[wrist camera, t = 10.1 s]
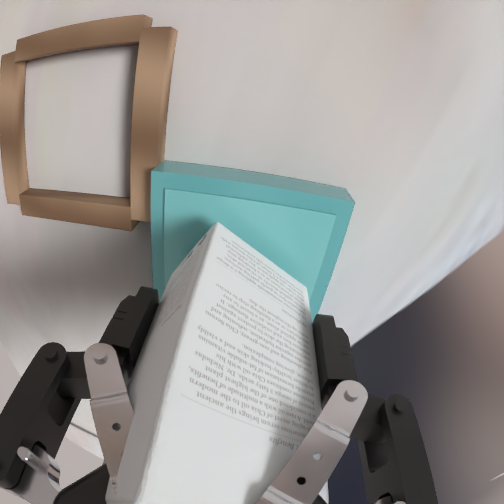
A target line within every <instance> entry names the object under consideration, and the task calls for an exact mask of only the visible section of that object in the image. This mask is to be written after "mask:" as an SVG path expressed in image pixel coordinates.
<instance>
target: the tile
mask: <svg viewBox="0 0 504 504" xmlns="http://www.w3.org/2000/svg"><path fill="white" fill-rule="evenodd" d="M354 204H355V202H354V200H353V199H352V197H351V196H350V194H349V193H348V191H347V190H346V189H345V188H340V187H335V186H330V185H325V184H320V183H315V182H310V181H305V180H299V179H294V178H288V177H283V176H277V175H271V174H265V173H259V172H252V171H245V170H239V169H232V168H224V167H217V166H209V165H201V164H192V163H184V162H174V161H163V162H161V163H160V164H159V165H158V166H157V167H155V168H154V169H153V170H152V171H151V255H152V277H153V289H157V290H158V295H159V303H160V300H161V298H162V296H163V293H164V291H165V289H166V286H167V284H168V281H169V279H170V277H171V275H172V273H173V272H174V271H175V270H176V269H177V267H178V266H179V265H180V264H181V263H182V261H183V260H184V259H185V258H186V256H187V255H188V254H189V253H190V252H191V250H192V249H193V248H194V247H195V245H196V244H197V243H198V242H199V241H200V240H201V239H202V237H203V236H204V235H205V234H206V233H207V232H208V231H209V229H210V228H211V227H212V226H213V225H214V224H215V223H216V222H219V223H221V224H222V225H223V226H224V227H226V228H227V229H228V230H230V231H231V232H232V233H234V234H235V235H236V236H238V237H239V238H241V239H242V240H243V241H245V242H246V243H247V244H248V245H250V246H251V247H253V248H254V249H255V250H257V251H258V252H259V253H261V254H262V255H263V256H265V257H266V258H267V259H269V260H270V261H271V262H273V263H274V264H275V265H277V266H278V267H279V268H281V269H282V270H284V271H285V272H286V273H288V274H289V275H290V276H292V277H293V278H294V279H296V280H297V281H298V282H300V283H301V284H302V285H304V286H305V287H306V288H307V291H308V298H309V305H310V312H311V320H312V323H313V320H314V318H315V316H316V314H318V311H319V309H320V306H321V303H322V301H323V298H324V295H325V292H326V290H327V287H328V284H329V281H330V278H331V276H332V273H333V270H334V267H335V264H336V261H337V258H338V255H339V252H340V249H341V246H342V243H343V240H344V237H345V234H346V231H347V227H348V224H349V221H350V218H351V214H352V211H353V208H354Z"/></svg>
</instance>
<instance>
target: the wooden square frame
mask: <svg viewBox="0 0 504 504" xmlns="http://www.w3.org/2000/svg"><path fill="white" fill-rule="evenodd" d="M151 25H152V18H150V17H148V16H146V15H133V16H124V17H115V18H108V19H101V20H95V21H89V22H84V23H79V24H74V25H69V26H65V27H61V28H57V29H53V30H49V31H45V32H41V33H38V34H34V35H31V36H28V37H25V38H22V39H19V40H17V45H16V51H14V52H11V53H8V54H5V55H2V58H1V69H0V147H1V159H2V168H3V176H4V184H5V191H6V197H7V203H8V204H16V205H21V210H22V215H26V216H33V217H40V218H47V219H53V220H60V221H67V222H73V223H80V224H87V225H94V226H100V227H107V228H113V229H120V230H127V231H132V230H133V229H134V228H135V227H136V225H137V224H138V223H139V221H145V222H151V171H152V170H153V169H154V168H155V167H157V166H158V165H159V164H160V163H161V162H163V161H164V152H165V136H166V123H167V112H168V101H169V92H170V83H171V74H172V66H173V59H174V52H175V45H176V38H177V32H178V30H176V29H174V28H172V27H151ZM135 44H139V50H138V57H137V66H136V75H135V85H134V96H133V110H132V127H131V157H130V196H131V198H123V197H114V196H105V195H96V194H86V193H76V192H66V191H55V190H44V189H32V188H29V182H28V174H27V163H26V150H25V129H24V95H25V74H26V62H27V61H29V60H33V59H37V58H41V57H46V56H51V55H56V54H61V53H66V52H72V51H78V50H85V49H92V48H101V47H110V46H121V45H135Z"/></svg>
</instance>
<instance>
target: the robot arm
mask: <svg viewBox="0 0 504 504" xmlns="http://www.w3.org/2000/svg"><path fill="white" fill-rule="evenodd" d="M158 305H159V295H158V290H157V289H153V288H148V287H143V286H142V287H141V288H140V289H139V291H138V293H137V295H136V297H135V296H130V295H129V296H128V297H126V298H125V299H124V300H123V301H121V303H120V304H119V306H118V308H117V310H116V312H115V313H114V315H113V318H112V319H111V321H110V323H109V325H108V326H107V328H106V330H105V332H104V334H103V336H102V338H101V340H100V342H99V343H97V344H94V345H92V346H90V347H89V348H88V349H87V350H86V351H84V352H66V350H65V348H64V347H63V346H62V345H61V344H59V343H55V342H52V343H47V344H45V345H43V346H42V347H41V348H40V349H39V351H38V352H37V354H36V355H35V357H34V358H33V360H32V361H31V363H30V365H29V366H28V368H27V369H26V371H25V373H24V374H23V376H22V377H21V379H20V381H19V382H18V384H17V386H16V388H15V389H14V391H13V393H12V394H11V396H10V398H9V400H8V402H7V403H6V405H5V407H4V409H3V411H2V413H1V414H0V487H1V488H3V489H4V490H6V491H8V492H10V493H12V494H13V495H15V496H19V497H21V498H23V499H25V500H27V501H28V502H30V503H31V504H107V503H106V500H105V497H106V492H107V487H108V483H109V478H110V477H111V480H112V486H113V490H114V493H115V495H116V492H117V482H116V478H117V474H118V470H119V466H120V463H121V459H122V453H123V452H124V448H125V445H126V441H127V438H128V434H129V430H130V427H131V423H132V420H133V417H134V412H133V409H132V406H131V402H130V399H129V396H128V392H127V387H128V384H129V381H130V378H131V375H132V372H133V370H134V367H135V364H136V362H137V359H138V356H139V354H140V351H141V348H142V346H143V343H144V341H145V338H146V335H147V333H148V330H149V328H150V325H151V323H152V320H153V318H154V315H155V313H156V310H157V308H158ZM312 327H313V335H314V344H315V351H316V359H317V369H318V378H319V387H320V397H321V407H322V411H321V413H320V415H319V416H318V418H317V419H316V421H315V422H314V424H313V425H312V427H311V428H310V430H309V431H308V433H307V434H306V436H305V437H304V439H303V440H302V442H301V443H300V445H299V446H298V448H297V449H296V451H295V452H294V454H293V455H292V456H291V458H290V459H289V460H288V462H287V463H286V464H285V466H284V467H283V468H282V470H281V471H280V473H279V474H278V475H277V476H276V478H275V479H274V480H273V482H272V483H271V484H270V486H269V487H268V488H267V489H266V491H265V492H264V493H263V494H262V496H261V497H260V498H259V499H258V500H257V502H256V503H255V504H327V503H326V502H325V500H324V499H323V498H322V497H321V496H320V495H319V492H320V491H321V489H322V488H323V486H324V485H325V483H326V481H327V480H328V478H329V476H330V475H331V473H332V471H333V470H334V468H335V466H336V465H337V463H338V461H339V460H340V458H341V456H342V454H343V452H344V451H345V449H346V447H347V445H348V443H349V441H350V438H349V437H351V438H354V439H357V440H358V443H359V449H360V455H361V461H362V467H363V473H364V480H365V487H366V493H367V501H368V504H438V501H437V496H436V492H435V487H434V482H433V478H432V474H431V470H430V466H429V462H428V458H427V454H426V450H425V447H424V443H423V440H422V436H421V433H420V429H419V426H418V422H417V419H416V416H415V413H414V409H413V406H412V404H411V402H410V401H409V400H408V399H407V398H406V397H404V396H402V395H398V394H394V395H392V396H389V397H388V398H387V399H386V400H385V399H382V398H378V397H375V396H372V395H370V394H368V393H367V391H366V389H365V388H364V387H363V386H362V385H361V384H360V383H358V380H357V375H356V370H355V366H354V361H353V356H352V352H351V348H350V343H349V338H348V336H347V334H346V333H345V332H344V330H343V329H342V328H336V326H335V321H334V317H333V316H330V315H321V314H316V316H315V318H314V320H313V323H312ZM81 399H91V400H90V406H91V411H92V415H93V419H94V423H95V427H96V431H97V435H98V439H99V442H100V446H101V449H102V452H103V456H104V459H105V462H106V463H105V464H103V465H102V466H100V467H99V468H97V469H96V470H94V471H92V472H91V473H89V474H87V475H86V476H84V477H82V478H81V479H79V480H77V481H76V482H74V483H72V484H71V485H69V486H67V487H66V488H64V489H62V490H61V488H60V485H59V477H60V468H59V465H58V463H57V462H56V461H55V460H54V459H55V457H56V454H57V452H58V450H59V447H60V445H61V442H62V440H63V438H64V436H65V433H66V431H67V429H68V426H69V424H70V422H71V420H72V418H73V415H74V413H75V411H76V409H77V407H78V405H79V403H80V401H81Z"/></svg>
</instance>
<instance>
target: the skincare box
mask: <svg viewBox="0 0 504 504" xmlns="http://www.w3.org/2000/svg"><path fill="white" fill-rule="evenodd" d="M127 392H128V396H129V399H130V402H131V406H132V409H133V412H134V417H133V420H132V423H131V427H130V430H129V434H128V438H127V441H126V445H125V448H124V452H123V453H122V459H121V463H120V466H119V470H118V474H117V478H116V482H117V492H116V495H115V493H114V490H113V486H112V480H111V477H110V478H109V483H108V487H107V492H106V497H105V500H106V503H107V504H255V503H256V502H257V500H258V499H259V498H260V497H261V496H262V494H263V493H264V492H265V491H266V489H267V488H268V487H269V486H270V484H271V483H272V482H273V480H274V479H275V478H276V476H277V475H278V474H279V473H280V471H281V470H282V468H283V467H284V466H285V464H286V463H287V462H288V460H289V459H290V458H291V456H292V455H293V454H294V452H295V451H296V449H297V448H298V446H299V445H300V443H301V442H302V440H303V439H304V437H305V436H306V434H307V433H308V431H309V430H310V428H311V427H312V425H313V424H314V422H315V421H316V419H317V418H318V416H319V415H320V413H321V411H322V407H321V397H320V387H319V378H318V369H317V359H316V351H315V344H314V335H313V327H312V320H311V312H310V305H309V298H308V291H307V288H306V287H305V286H304V285H302V284H301V283H300V282H298V281H297V280H296V279H294V278H293V277H292V276H290V275H289V274H288V273H286V272H285V271H284V270H282V269H281V268H279V267H278V266H277V265H275V264H274V263H273V262H271V261H270V260H269V259H267V258H266V257H265V256H263V255H262V254H261V253H259V252H258V251H257V250H255V249H254V248H253V247H251V246H250V245H248V244H247V243H246V242H245V241H243V240H242V239H241V238H239V237H238V236H236V235H235V234H234V233H232V232H231V231H230V230H228V229H227V228H226V227H224V226H223V225H222V224H221V223H219V222H216V223H215V224H214V225H213V226H212V227H211V228H210V229H209V231H208V232H207V233H206V234H205V235H204V236H203V237H202V239H201V240H200V241H199V242H198V243H197V244H196V245H195V247H194V248H193V249H192V250H191V252H190V253H189V254H188V255H187V256H186V258H185V259H184V260H183V261H182V263H181V264H180V265H179V266H178V267H177V269H176V270H175V271H174V272H173V273H172V275H171V277H170V279H169V281H168V284H167V286H166V289H165V291H164V293H163V296H162V298H161V300H160V303H159V305H158V308H157V310H156V313H155V315H154V318H153V320H152V323H151V325H150V328H149V330H148V333H147V335H146V338H145V341H144V343H143V346H142V348H141V351H140V354H139V356H138V359H137V362H136V364H135V367H134V370H133V372H132V375H131V378H130V381H129V384H128V387H127ZM105 463H106V462H105V459H104V462H103V464H105ZM319 495H320V496H321V497H322V498H323V499H324V500H325V502H326V503H327V504H328V483H327V481H326V483H325V485H324V486H323V488H322V489H321V491H320V492H319Z"/></svg>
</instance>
